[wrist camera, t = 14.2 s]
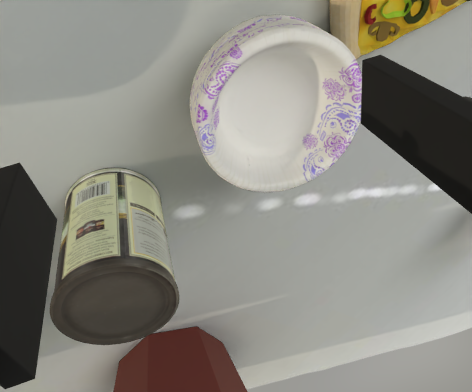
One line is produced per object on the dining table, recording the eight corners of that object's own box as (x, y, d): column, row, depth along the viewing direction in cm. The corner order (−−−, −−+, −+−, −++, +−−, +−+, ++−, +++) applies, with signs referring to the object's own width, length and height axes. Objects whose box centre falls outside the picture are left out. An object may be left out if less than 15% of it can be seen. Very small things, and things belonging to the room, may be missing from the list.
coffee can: (123, 252, 47) (127, 357, 36) (44, 214, 41) (21, 325, 30) (180, 198, 44) (204, 294, 34) (105, 149, 38) (104, 245, 27)
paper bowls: (170, 19, 33) (184, 45, 27) (333, -5, 35) (380, 14, 29) (195, 166, 42) (209, 210, 36) (322, 139, 45) (356, 176, 39)
